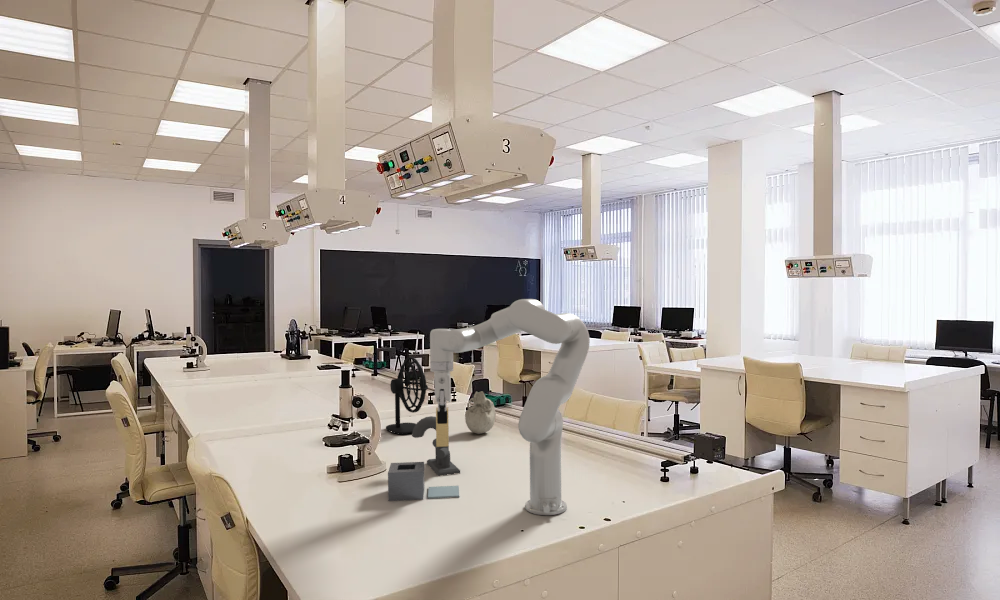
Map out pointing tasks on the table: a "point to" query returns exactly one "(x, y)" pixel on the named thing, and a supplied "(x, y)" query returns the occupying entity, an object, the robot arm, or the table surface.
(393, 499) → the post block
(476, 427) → the skull
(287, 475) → the table surface
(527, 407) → the robot arm
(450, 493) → the rubber pad
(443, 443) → the brass peg
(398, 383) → the desk fan
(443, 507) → the table surface
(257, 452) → the table surface
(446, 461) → the faucet
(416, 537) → the table surface
